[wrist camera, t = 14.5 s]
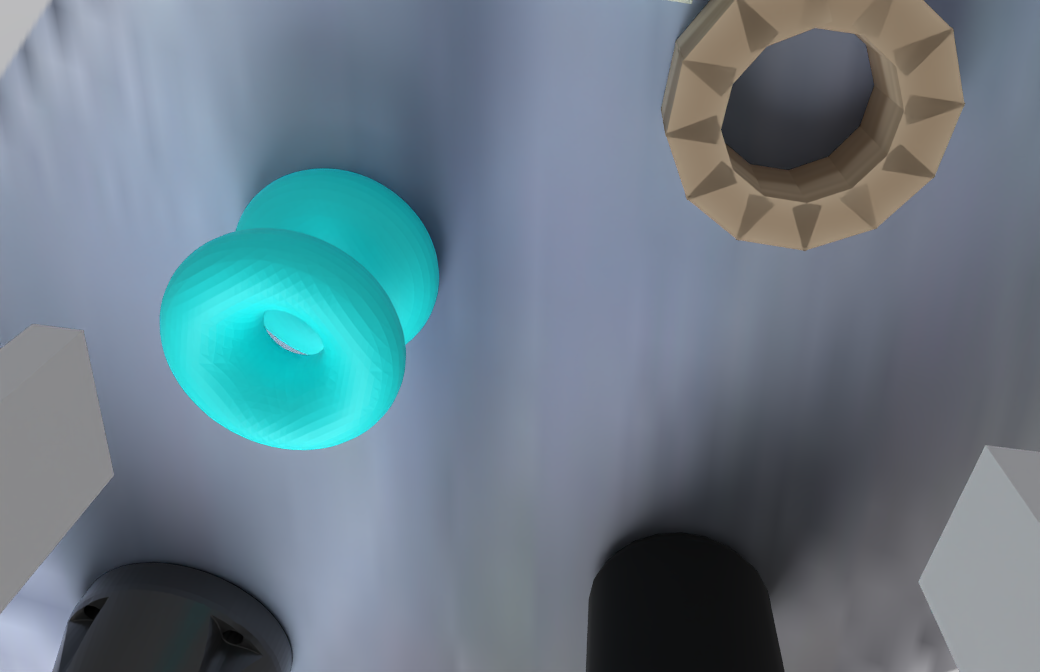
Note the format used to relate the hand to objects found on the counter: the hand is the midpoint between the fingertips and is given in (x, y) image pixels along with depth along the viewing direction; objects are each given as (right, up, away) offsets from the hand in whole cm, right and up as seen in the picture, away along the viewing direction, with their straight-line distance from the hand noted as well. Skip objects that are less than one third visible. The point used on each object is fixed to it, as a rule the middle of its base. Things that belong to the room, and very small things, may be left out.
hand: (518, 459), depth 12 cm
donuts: (-9, +6, +28) cm, 30 cm away
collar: (+11, +12, +21) cm, 27 cm away
